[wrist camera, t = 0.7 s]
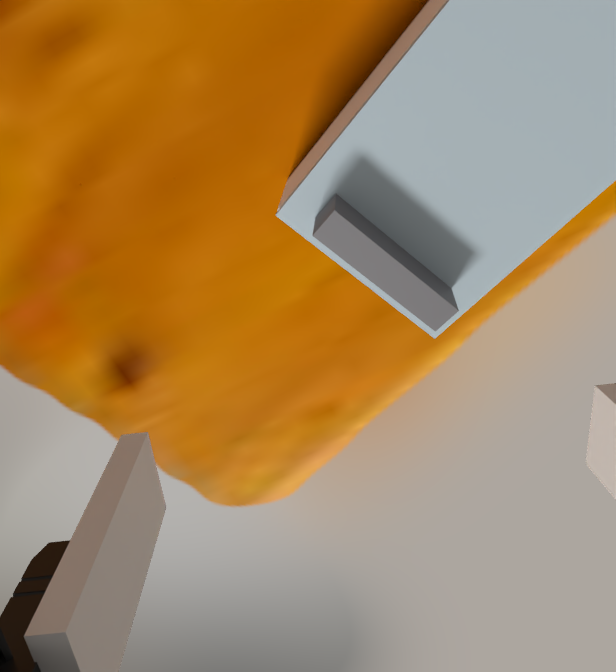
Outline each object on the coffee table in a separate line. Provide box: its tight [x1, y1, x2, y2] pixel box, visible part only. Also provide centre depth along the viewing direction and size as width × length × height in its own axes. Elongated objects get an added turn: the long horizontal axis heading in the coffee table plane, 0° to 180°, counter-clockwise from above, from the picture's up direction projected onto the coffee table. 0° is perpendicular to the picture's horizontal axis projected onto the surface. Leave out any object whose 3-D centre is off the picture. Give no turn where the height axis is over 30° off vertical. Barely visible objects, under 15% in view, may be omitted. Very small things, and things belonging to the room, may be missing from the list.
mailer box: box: [277, 0, 447, 211], centre depth 36 cm, size 20×14×7 cm
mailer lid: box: [276, 0, 616, 339], centre depth 31 cm, size 20×14×4 cm
